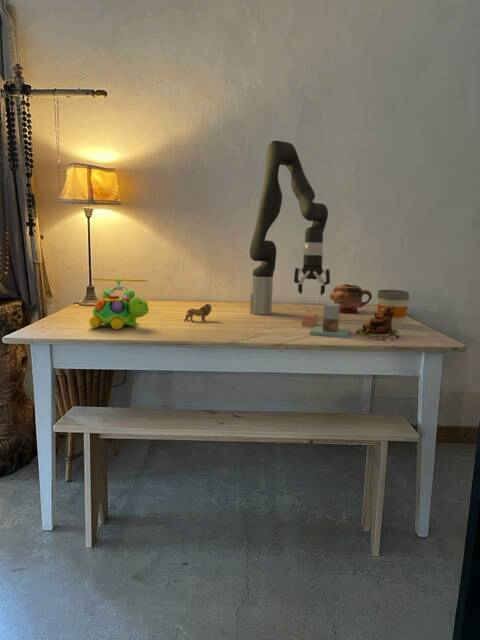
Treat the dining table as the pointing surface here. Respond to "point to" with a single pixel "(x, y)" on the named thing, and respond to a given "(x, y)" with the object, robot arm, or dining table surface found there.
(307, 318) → the red brick
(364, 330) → the bear figurine
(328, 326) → the walnut brick
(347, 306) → the brown ceramic mug
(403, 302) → the reusable coffee cup
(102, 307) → the turtle toy
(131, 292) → the toy helicopter
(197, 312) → the lion figurine
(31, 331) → the dining table surface
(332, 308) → the slate brick
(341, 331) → the baseplate
